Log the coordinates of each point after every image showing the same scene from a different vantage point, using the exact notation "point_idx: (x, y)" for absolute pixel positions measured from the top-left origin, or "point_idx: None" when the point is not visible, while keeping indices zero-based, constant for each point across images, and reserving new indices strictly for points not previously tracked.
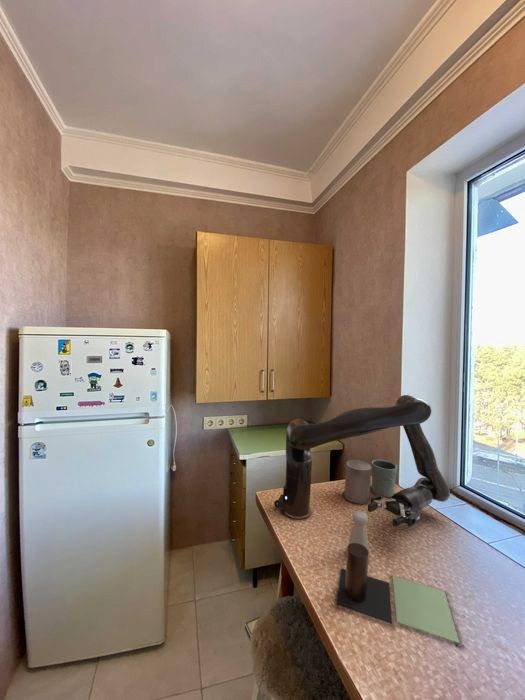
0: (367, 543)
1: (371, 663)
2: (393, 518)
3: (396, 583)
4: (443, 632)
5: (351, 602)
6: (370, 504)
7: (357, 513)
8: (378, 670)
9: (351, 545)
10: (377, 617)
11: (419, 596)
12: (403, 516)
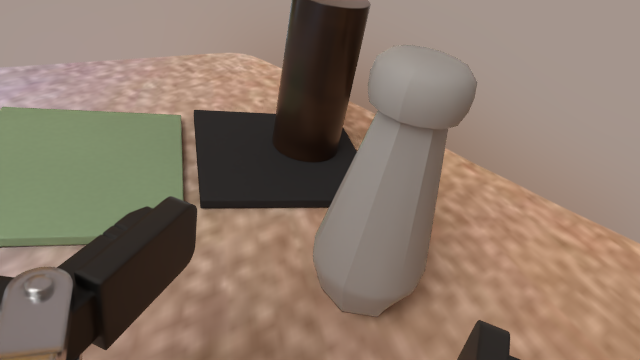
0: (333, 208)
1: (234, 72)
2: (187, 206)
3: None
4: (41, 117)
5: None
6: (499, 350)
7: (444, 55)
8: (221, 68)
9: (359, 2)
10: (232, 113)
11: (79, 186)
12: (47, 268)
